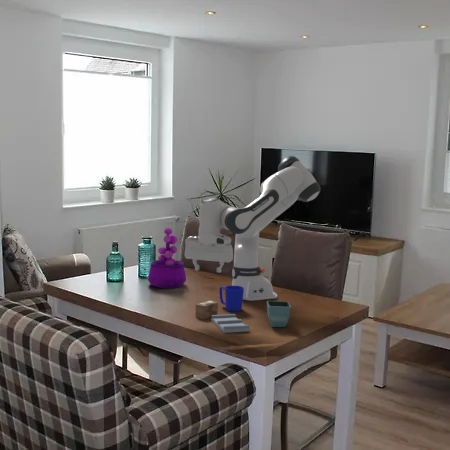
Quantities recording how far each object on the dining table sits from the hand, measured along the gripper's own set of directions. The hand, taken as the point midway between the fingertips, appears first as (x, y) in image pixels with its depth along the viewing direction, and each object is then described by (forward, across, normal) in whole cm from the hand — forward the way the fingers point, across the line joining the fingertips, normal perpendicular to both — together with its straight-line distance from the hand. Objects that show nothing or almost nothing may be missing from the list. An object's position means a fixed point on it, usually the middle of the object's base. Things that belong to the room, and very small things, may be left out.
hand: (208, 271), depth 256 cm
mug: (+19, +6, +14) cm, 24 cm away
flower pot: (+19, +31, -1) cm, 36 cm away
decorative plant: (+19, -35, +40) cm, 57 cm away
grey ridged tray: (+19, +13, -10) cm, 25 cm away
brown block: (+19, 0, 0) cm, 19 cm away
